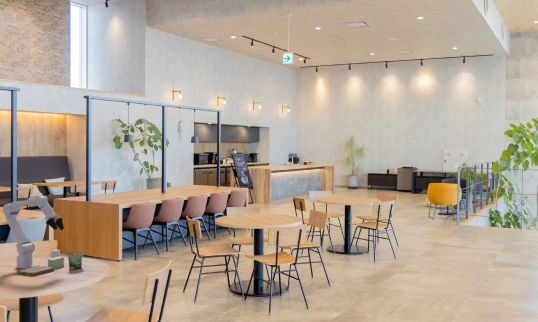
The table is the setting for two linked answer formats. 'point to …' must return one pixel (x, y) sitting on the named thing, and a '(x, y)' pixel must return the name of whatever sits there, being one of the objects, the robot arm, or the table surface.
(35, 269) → the walnut stand
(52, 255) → the white rounded canister
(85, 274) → the table surface
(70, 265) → the food container
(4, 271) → the table surface
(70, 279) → the table surface
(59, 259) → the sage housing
